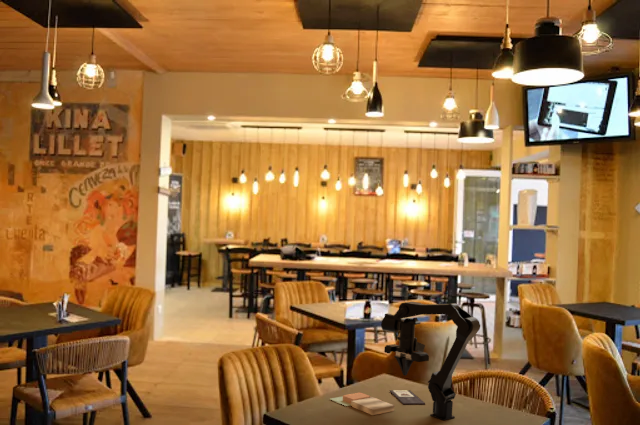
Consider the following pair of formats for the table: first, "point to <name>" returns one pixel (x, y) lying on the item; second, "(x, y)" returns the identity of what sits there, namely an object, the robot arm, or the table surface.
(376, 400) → the beige square slab
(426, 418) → the table surface
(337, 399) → the mat
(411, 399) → the chocolate bar
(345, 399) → the salmon orange rectangular block
